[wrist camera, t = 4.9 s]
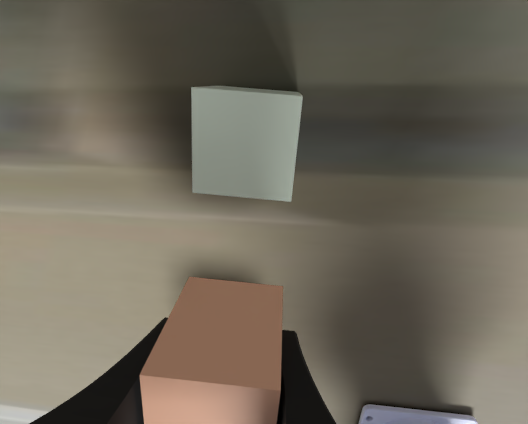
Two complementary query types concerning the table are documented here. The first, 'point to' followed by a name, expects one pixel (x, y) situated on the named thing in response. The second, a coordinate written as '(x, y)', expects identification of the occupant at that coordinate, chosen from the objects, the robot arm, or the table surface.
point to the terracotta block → (217, 356)
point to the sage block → (244, 141)
